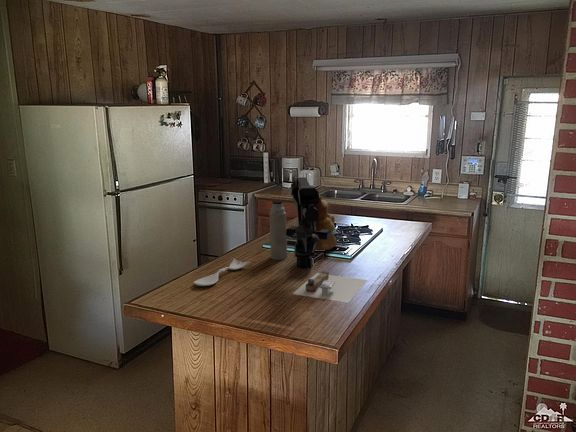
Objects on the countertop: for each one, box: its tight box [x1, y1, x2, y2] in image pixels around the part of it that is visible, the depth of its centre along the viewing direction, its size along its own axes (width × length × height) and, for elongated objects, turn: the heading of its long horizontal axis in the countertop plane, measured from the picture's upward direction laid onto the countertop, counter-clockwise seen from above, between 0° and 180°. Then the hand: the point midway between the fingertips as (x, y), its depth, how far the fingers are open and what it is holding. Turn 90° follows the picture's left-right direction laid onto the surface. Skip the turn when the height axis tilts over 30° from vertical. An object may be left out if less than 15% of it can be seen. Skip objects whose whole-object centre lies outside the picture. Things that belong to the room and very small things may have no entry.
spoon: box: [193, 258, 251, 287], centre depth 214 cm, size 9×32×4 cm, turn 150°
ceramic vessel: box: [310, 194, 339, 250], centre depth 244 cm, size 16×22×30 cm
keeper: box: [320, 280, 335, 296], centre depth 191 cm, size 5×8×4 cm
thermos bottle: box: [268, 200, 288, 261], centre depth 235 cm, size 8×8×28 cm
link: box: [306, 271, 330, 292], centre depth 199 cm, size 19×4×2 cm, turn 154°
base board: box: [292, 272, 369, 304], centre depth 197 cm, size 23×25×1 cm
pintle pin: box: [307, 278, 314, 285], centre depth 193 cm, size 2×2×2 cm
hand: (308, 252), depth 205 cm, fingers open, 3 cm apart
